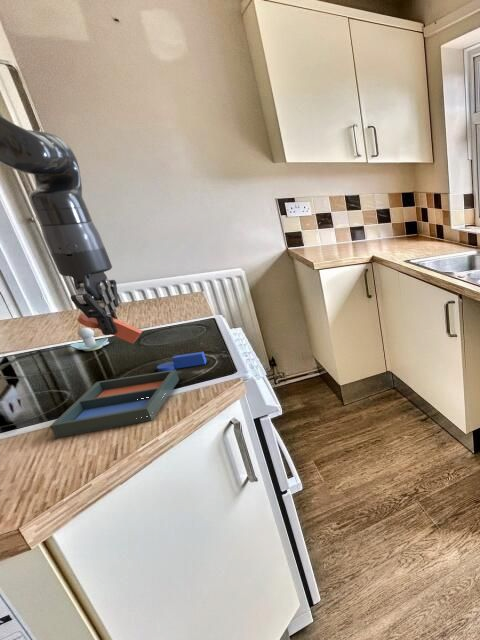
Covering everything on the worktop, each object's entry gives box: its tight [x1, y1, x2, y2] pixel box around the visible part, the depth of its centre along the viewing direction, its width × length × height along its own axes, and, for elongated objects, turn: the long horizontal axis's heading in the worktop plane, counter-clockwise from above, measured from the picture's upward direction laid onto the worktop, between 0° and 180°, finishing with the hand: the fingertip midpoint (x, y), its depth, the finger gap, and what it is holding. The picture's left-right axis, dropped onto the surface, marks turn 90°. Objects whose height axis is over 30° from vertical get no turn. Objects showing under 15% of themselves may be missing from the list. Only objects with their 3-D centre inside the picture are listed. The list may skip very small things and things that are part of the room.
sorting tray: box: [49, 369, 180, 439], centre depth 84 cm, size 14×18×3 cm
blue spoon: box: [156, 351, 208, 372], centre depth 101 cm, size 10×4×3 cm, turn 113°
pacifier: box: [70, 327, 110, 352], centre depth 112 cm, size 7×6×6 cm
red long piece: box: [76, 313, 143, 344], centre depth 86 cm, size 10×4×3 cm
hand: (112, 332), depth 86 cm, fingers closed on red long piece, 1 cm apart
